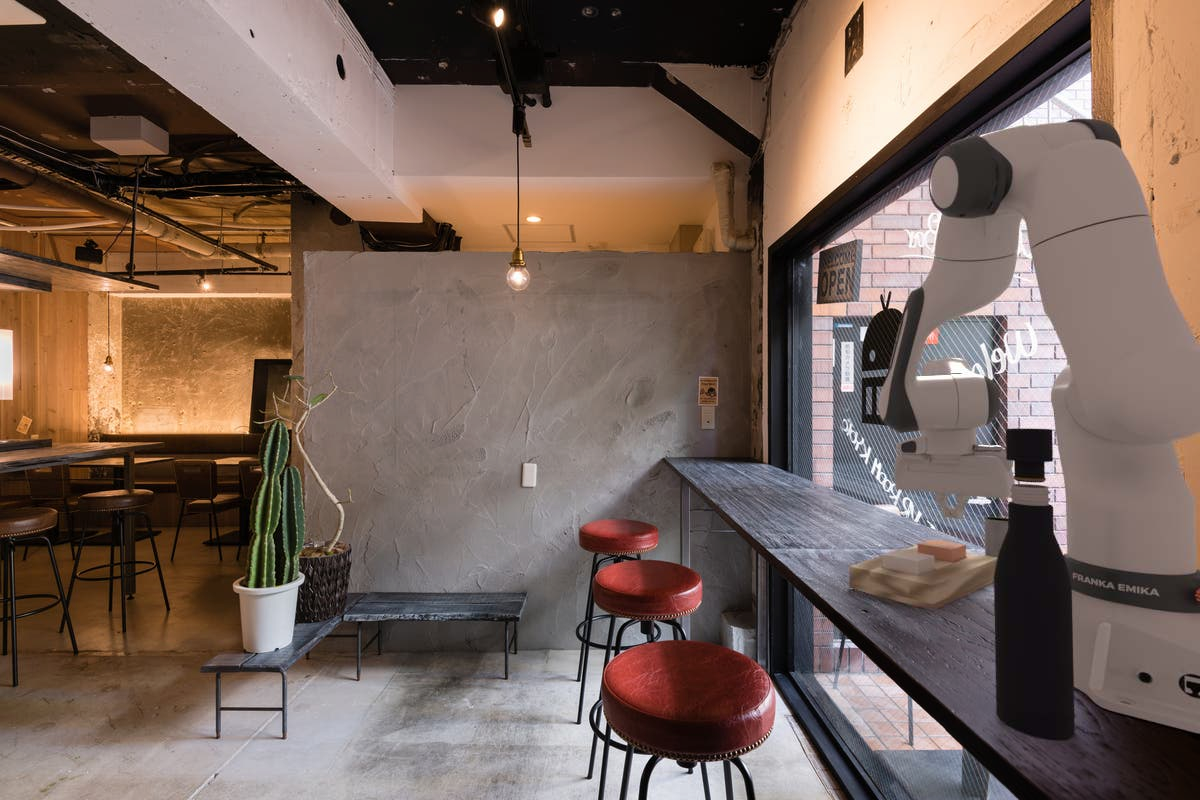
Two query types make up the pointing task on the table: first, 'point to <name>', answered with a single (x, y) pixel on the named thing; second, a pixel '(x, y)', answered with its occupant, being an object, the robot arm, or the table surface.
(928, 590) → the light brown flat block
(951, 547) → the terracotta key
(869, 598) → the table surface
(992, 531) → the planter
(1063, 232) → the robot arm
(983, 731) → the table surface
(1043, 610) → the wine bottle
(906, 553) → the beige block
